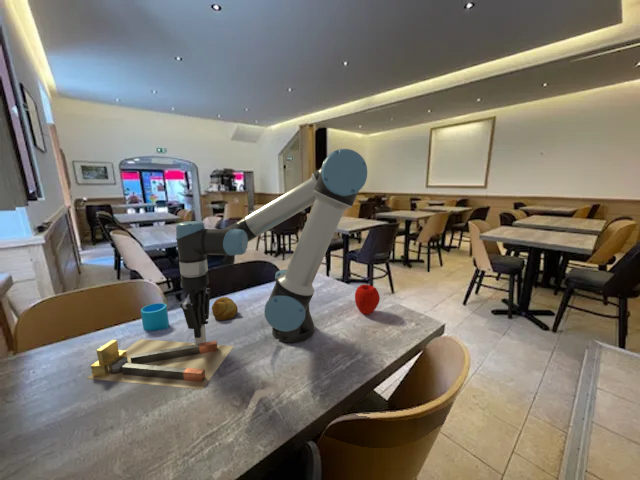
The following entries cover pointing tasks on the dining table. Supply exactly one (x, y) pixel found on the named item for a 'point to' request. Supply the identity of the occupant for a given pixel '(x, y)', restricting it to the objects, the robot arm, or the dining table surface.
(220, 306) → the bread roll
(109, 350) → the yellow stepped block
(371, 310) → the apple
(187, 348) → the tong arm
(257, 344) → the dining table surface
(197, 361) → the board
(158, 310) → the mug
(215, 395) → the dining table surface
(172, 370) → the tong fixed
